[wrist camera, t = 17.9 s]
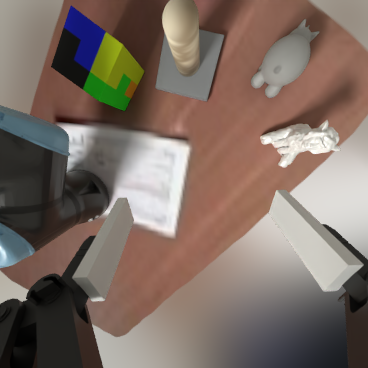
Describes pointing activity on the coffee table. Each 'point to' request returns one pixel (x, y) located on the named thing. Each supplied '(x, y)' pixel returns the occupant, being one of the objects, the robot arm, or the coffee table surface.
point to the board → (202, 79)
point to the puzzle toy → (96, 61)
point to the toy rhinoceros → (285, 60)
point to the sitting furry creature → (302, 141)
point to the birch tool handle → (183, 34)
